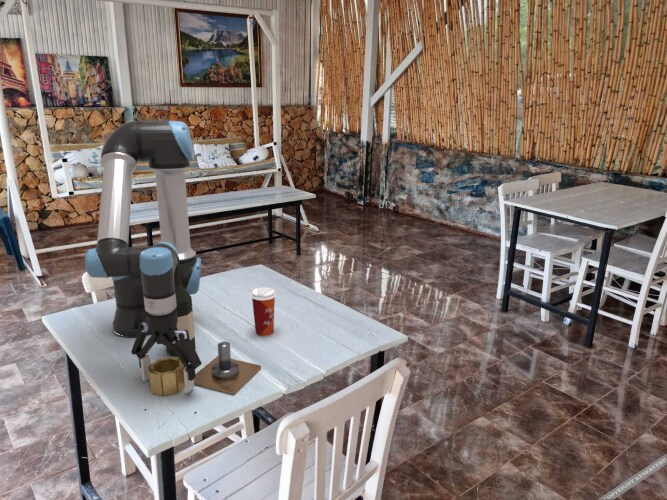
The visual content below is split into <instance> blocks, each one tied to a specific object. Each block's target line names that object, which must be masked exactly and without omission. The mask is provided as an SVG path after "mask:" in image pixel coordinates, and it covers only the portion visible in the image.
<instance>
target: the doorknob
mask: <svg viewBox="0 0 667 500" xmlns="http://www.w3.org/2000/svg"><path fill="white" fill-rule="evenodd" d="M231 357H232V356H231V343H230V342H228V341H221V342H218V343H217V356H216V357H215V358H213V359H212V360H211V361H210V362H208V363H207V364H206V365H205V366H204V367H203V368H201V369H200V370H198V372H195V376H196V377H195V379H194V386H196V387H201V388H205V389H209V390H213V391H216V392H220V393H222V394H223V393H224V394H227V395H232V396H235V395H236V394H237V393H238V392H239V391H240V390H241V389H242V388H243V387H244V386H245V385H246V384H247V383H248V382H249V381H250V380H251V379H252V378H253V377H254V376H256V374H257V373H258V372H260V370H261V369H262V365H260V364H255V363H251V362H247V361H243V360H238V359H235V358H231Z"/></svg>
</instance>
